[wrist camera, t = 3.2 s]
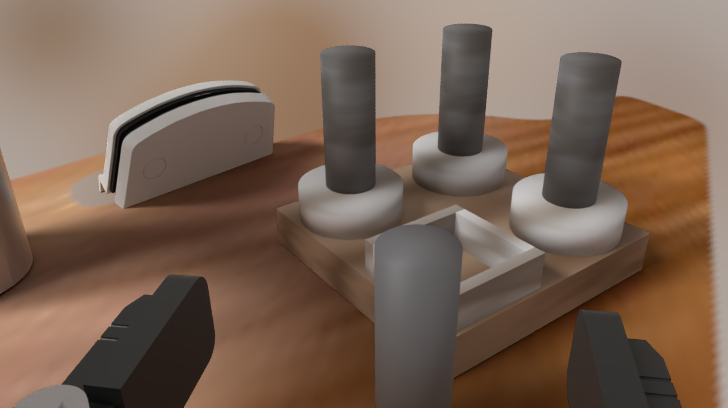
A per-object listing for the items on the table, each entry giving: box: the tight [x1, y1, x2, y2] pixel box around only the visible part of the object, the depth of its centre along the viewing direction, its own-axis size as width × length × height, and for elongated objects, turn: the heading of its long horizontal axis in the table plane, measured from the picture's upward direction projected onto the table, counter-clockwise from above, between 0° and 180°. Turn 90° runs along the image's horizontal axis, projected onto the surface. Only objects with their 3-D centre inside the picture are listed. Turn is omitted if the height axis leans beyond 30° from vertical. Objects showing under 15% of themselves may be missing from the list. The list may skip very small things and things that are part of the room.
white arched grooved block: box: [98, 80, 275, 208], centre depth 58 cm, size 17×5×10 cm, turn 136°
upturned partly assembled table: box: [276, 24, 650, 378], centre depth 44 cm, size 19×19×15 cm
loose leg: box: [374, 224, 463, 408], centre depth 29 cm, size 4×4×12 cm
